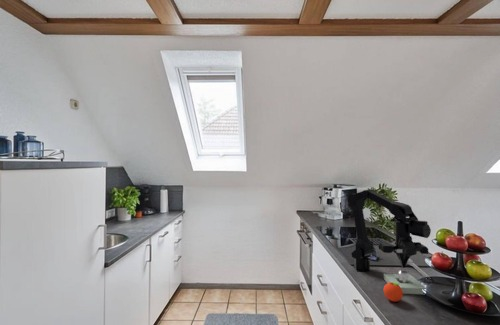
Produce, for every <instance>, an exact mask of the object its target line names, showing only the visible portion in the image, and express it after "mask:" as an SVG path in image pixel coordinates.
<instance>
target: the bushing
mask: <svg viewBox="0 0 500 325" xmlns="http://www.w3.org/2000/svg"><path fill="white" fill-rule="evenodd" d="M397 271H398V273H397V274H398V277H399V283H408V284H409V275H410V273H409V270H408V269H405V268H399V269H397Z"/></svg>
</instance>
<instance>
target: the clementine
mask: <svg viewBox="0 0 500 325" xmlns="http://www.w3.org/2000/svg"><path fill="white" fill-rule="evenodd" d="M399 285H400V284H398V283H392V282H390V283H387V282H386V284H385V285H384V286H383V294H384V296H385V297H386V298H387V299H388V300H389V301H390V302H391V301H392V302H394V303H395V302H399V301H401V300H402V299H403V296H404V294H403V291H402V289H401V287H400V286H399ZM401 286H402V285H401ZM402 287H403V286H402Z"/></svg>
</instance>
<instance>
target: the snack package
mask: <svg viewBox="0 0 500 325" xmlns="http://www.w3.org/2000/svg"><path fill="white" fill-rule="evenodd" d="M378 257H379V251H378V249H376V248H374V249H373V253H372V254H371V256H370V257H368V260H369V261H371V262H372V261H374V262H377V261H378Z"/></svg>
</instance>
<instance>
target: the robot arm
mask: <svg viewBox="0 0 500 325" xmlns="http://www.w3.org/2000/svg"><path fill="white" fill-rule="evenodd" d="M346 198H347V203H348V206H349V208H350V209H351V210H352V214H353V220H354V221H353V222H354V226H355V230H356V231H355V232H356V238H357V239H356V241H355V244H354V245H355V250H353V251H352V252H351V257H352V258H353V259H354V260H353V261H354V265H353V268H354V269H355V270H356V272H371V270H370V266H371V265H370V261H371V260H369V259H368V257H370V258H371V257H372V256H371V254H372V253H373V250H374V249H375V247H374V242H373V240H370V239H369V238H368V234H367V227H366V222H365V215H364V207H365V201H366V200H370V201H372V202H374V203H376V204H377V205H379V206H381V207H383V208H385V209H387V210H388V212H389V213H390V214H391V215H393V217H392V218H391V219H390V221H391V222H395V224H394V226H395V232H394V236H395V241H394V245H392V244H390V243H388V242H380V243H379V245H378V249H379V250H380V251H381V252H382V253H385V254H390V253H391V254H392V253H394V254H395V255H396V257H397V259H398V260H399V263H400V265H401V267H402V269H405V268H406V266H407V265H406V264H407V261H408V259H409V258H410V257H412V256H415V255H417V252H419V253H420V254H422V255H423V254H424V255H428V254H429V248H428V247H427V246H426V245H424V244H422V243H421V242H420V241H419V242H416V241H413V238H412V236H416V237H420V238H424V239H428V238H429V237H430V235H431V227H430V225H429V222H428V221H427V220H419V219H418V217H417V216H416V214H415V213H414V211H413V209H412V206H410V204H406V203H403V202H400V201H395V200H392V199H390V198H388V197H386V196H384V195H382V194H380V193H378V192H377V191H374V190H373V189H370V188H369V189H364V190H362V191H360V192H357V193H350V194H349V195H348V196H347V197H346ZM411 235H412V236H411Z"/></svg>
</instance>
